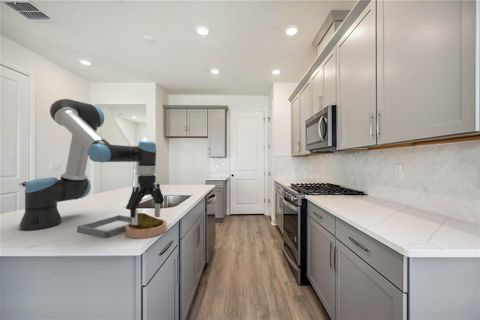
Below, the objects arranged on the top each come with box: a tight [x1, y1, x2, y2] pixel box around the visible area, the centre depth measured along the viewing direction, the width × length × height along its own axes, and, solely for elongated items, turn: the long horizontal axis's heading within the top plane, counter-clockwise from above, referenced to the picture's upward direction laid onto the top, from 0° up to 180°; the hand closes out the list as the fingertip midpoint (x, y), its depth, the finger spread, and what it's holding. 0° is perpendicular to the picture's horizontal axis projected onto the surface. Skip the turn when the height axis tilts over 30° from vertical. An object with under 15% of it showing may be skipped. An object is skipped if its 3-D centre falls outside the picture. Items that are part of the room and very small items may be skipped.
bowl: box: [124, 218, 167, 239], centre depth 98 cm, size 17×17×4 cm
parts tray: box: [76, 214, 131, 239], centre depth 103 cm, size 19×21×2 cm
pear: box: [130, 212, 162, 229], centre depth 98 cm, size 8×13×8 cm, turn 84°
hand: (146, 220), depth 98 cm, fingers open, 13 cm apart
